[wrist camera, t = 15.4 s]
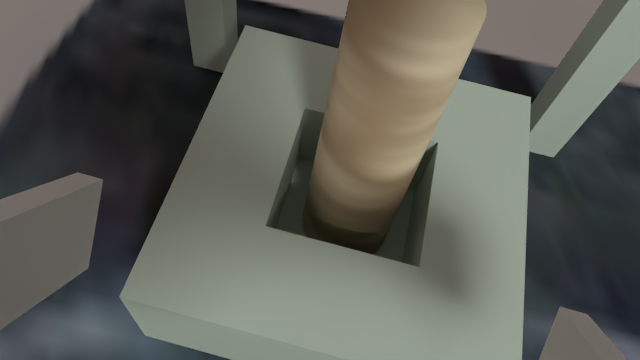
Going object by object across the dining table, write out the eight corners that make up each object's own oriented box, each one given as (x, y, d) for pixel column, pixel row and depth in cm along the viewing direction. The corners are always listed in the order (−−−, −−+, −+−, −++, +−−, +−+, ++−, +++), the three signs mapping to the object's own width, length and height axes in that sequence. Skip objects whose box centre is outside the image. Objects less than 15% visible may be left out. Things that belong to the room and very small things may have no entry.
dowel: (390, 199, 26) (485, -25, 17) (381, 269, 23) (488, 50, 14) (311, 180, 26) (362, -55, 17) (294, 247, 23) (342, 15, 14)
